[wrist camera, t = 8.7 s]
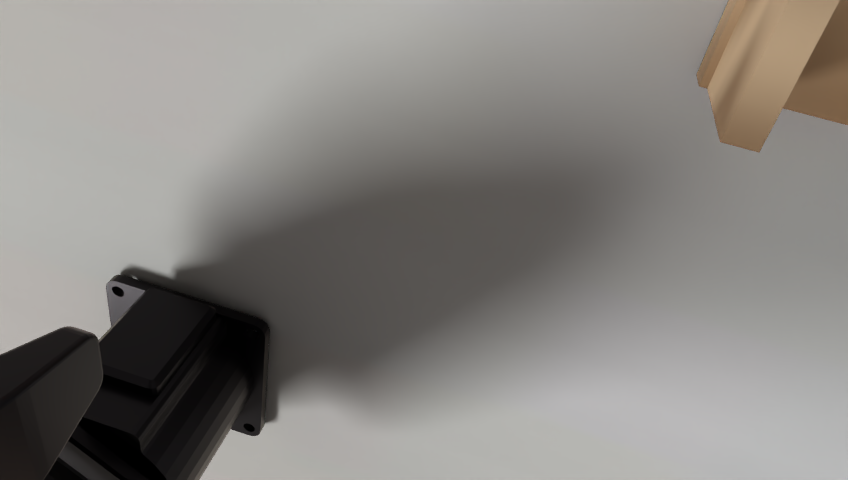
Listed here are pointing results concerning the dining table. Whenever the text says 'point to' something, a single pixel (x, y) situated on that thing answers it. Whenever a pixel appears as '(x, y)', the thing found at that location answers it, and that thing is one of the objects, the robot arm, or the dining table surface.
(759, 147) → the rack
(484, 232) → the dining table surface
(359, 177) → the dining table surface
